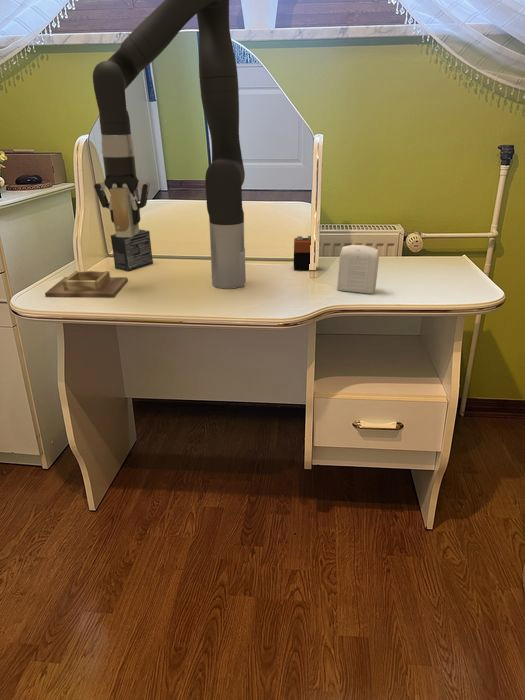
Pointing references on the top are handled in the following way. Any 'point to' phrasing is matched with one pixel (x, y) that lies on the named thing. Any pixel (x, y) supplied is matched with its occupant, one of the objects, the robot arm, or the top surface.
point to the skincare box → (123, 213)
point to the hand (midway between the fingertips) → (126, 223)
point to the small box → (132, 251)
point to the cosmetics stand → (87, 285)
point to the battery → (302, 253)
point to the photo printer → (358, 269)
